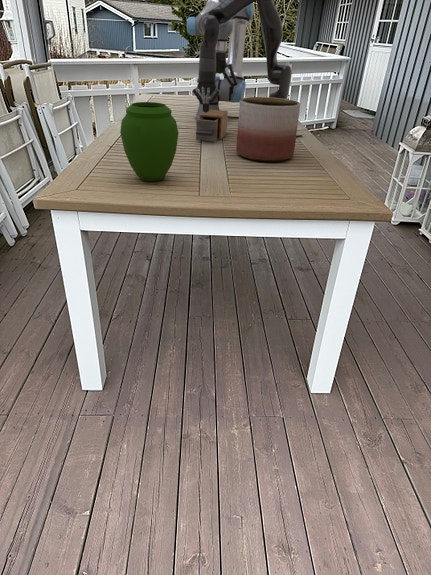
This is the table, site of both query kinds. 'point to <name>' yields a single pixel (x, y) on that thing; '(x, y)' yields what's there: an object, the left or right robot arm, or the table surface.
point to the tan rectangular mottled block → (223, 120)
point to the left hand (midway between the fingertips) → (216, 99)
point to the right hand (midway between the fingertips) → (206, 112)
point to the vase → (149, 139)
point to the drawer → (207, 129)
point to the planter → (267, 128)
